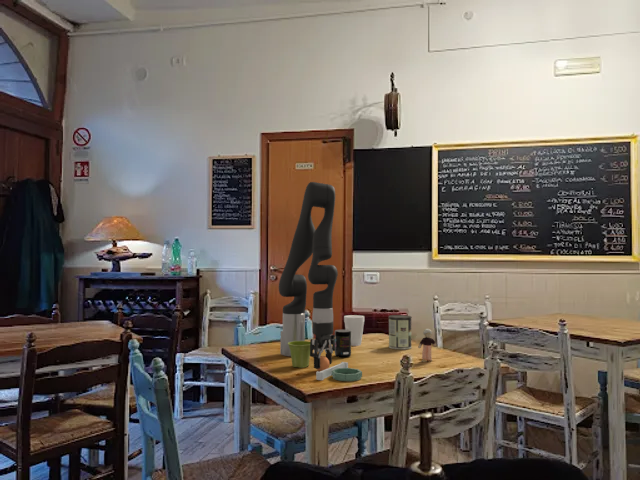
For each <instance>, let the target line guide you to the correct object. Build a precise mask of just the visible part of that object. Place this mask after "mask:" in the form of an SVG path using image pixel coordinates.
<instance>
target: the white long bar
mask: <svg viewBox="0 0 640 480" xmlns="http://www.w3.org/2000/svg"><path fill="white" fill-rule="evenodd" d="M337 368H349V362H346V361H341V362H340V363H338V364H336V365H333V366H331V367H330V366H329V368H328V369H325V370H323V371H318V370H317V371H316V372H315V373H316V374H315V380H318V381H324V379H327V378H329V377H331V376H332V370H335V369H337Z"/></svg>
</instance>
